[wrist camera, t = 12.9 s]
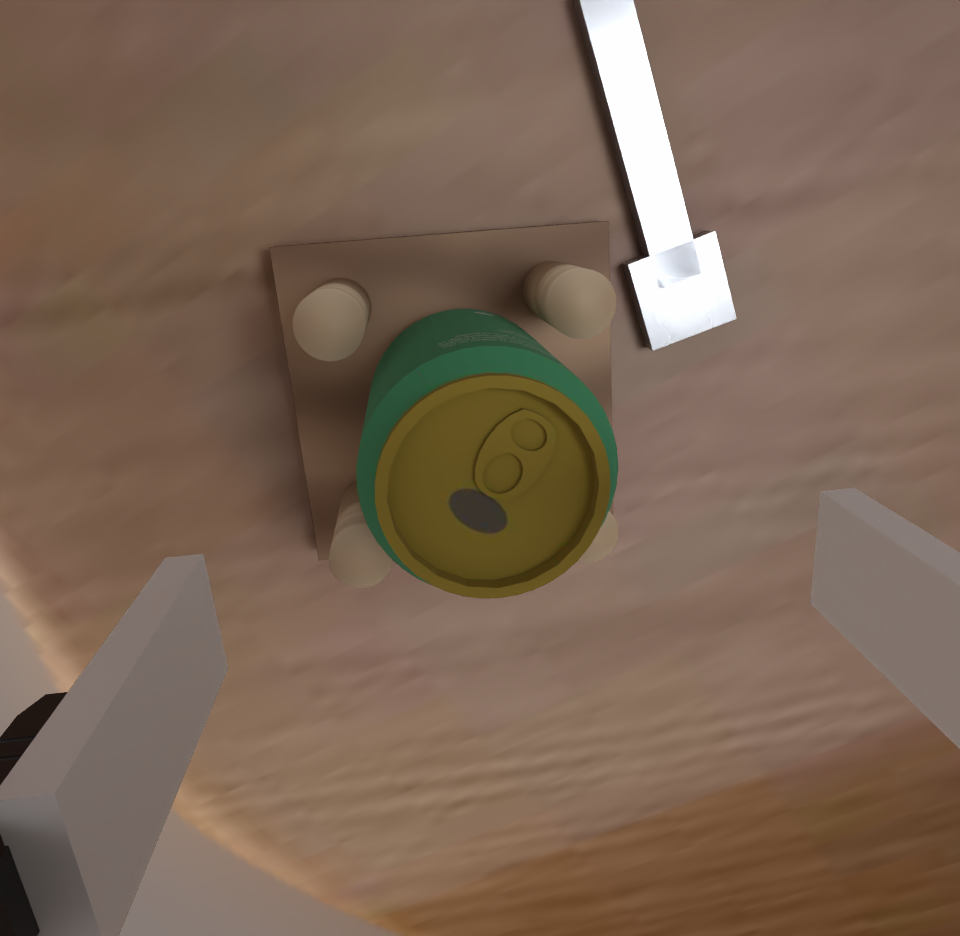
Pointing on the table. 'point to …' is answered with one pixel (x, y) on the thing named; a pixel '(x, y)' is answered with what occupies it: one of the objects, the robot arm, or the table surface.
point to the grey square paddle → (651, 186)
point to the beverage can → (482, 457)
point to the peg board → (397, 305)
